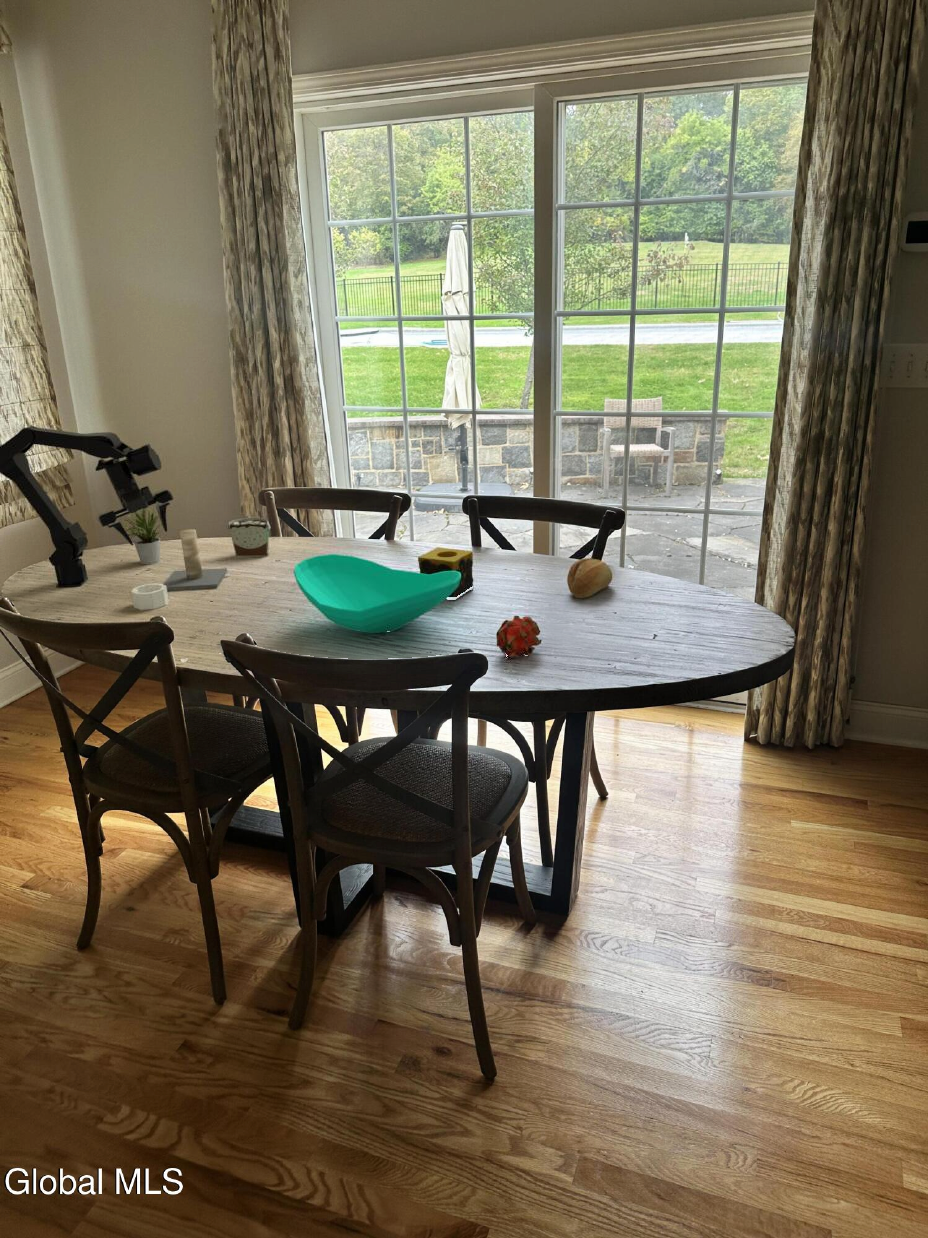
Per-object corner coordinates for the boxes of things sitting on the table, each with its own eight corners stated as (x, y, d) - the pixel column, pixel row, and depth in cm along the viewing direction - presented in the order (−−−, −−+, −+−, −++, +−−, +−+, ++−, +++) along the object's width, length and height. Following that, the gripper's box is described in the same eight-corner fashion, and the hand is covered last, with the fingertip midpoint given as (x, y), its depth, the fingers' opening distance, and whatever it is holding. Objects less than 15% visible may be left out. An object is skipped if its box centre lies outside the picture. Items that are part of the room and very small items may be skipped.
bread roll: (557, 598, 203) (557, 566, 200) (582, 580, 215) (582, 550, 212) (595, 604, 198) (596, 571, 196) (618, 585, 210) (619, 554, 208)
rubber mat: (161, 591, 218) (161, 587, 218) (174, 574, 231) (174, 570, 231) (217, 587, 219) (216, 584, 219) (227, 571, 232) (226, 568, 232)
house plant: (120, 558, 248) (110, 502, 242) (170, 551, 253) (161, 496, 248) (124, 571, 236) (114, 513, 230) (176, 563, 241) (167, 506, 235)
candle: (418, 596, 208) (416, 557, 204) (438, 584, 216) (436, 546, 212) (455, 602, 203) (453, 561, 200) (474, 589, 211) (473, 550, 208)
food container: (279, 550, 250) (275, 516, 247) (272, 556, 245) (268, 522, 241) (238, 550, 252) (234, 517, 248) (231, 556, 246) (226, 522, 242)
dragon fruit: (534, 650, 178) (510, 680, 169) (503, 624, 179) (477, 652, 169) (555, 625, 172) (532, 654, 163) (522, 598, 173) (497, 626, 164)
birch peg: (190, 580, 222) (183, 534, 218) (184, 577, 225) (177, 531, 221) (205, 577, 224) (198, 531, 220) (199, 574, 227) (192, 528, 223)
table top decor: (269, 634, 187) (262, 576, 183) (346, 596, 210) (341, 543, 205) (421, 666, 168) (418, 602, 164) (488, 620, 190) (487, 563, 186)
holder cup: (131, 610, 205) (128, 594, 204) (139, 599, 212) (137, 584, 211) (163, 608, 205) (160, 592, 204) (171, 598, 213) (168, 582, 211)
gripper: (90, 496, 207) (118, 555, 213) (164, 469, 214) (189, 527, 220) (85, 494, 217) (113, 551, 222) (156, 468, 224) (181, 523, 229)
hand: (149, 538), depth 223 cm, fingers open, 9 cm apart
